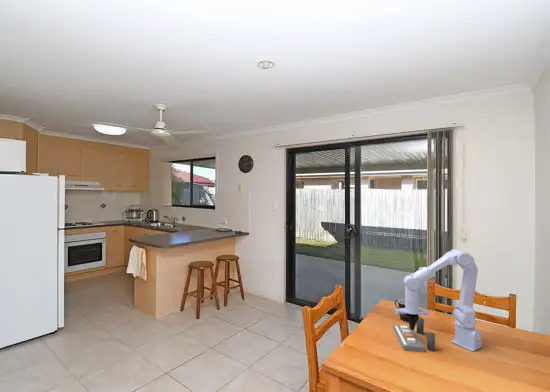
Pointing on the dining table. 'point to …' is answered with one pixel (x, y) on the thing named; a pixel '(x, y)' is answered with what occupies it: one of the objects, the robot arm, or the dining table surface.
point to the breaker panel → (408, 338)
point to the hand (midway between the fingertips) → (412, 328)
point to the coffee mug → (402, 305)
